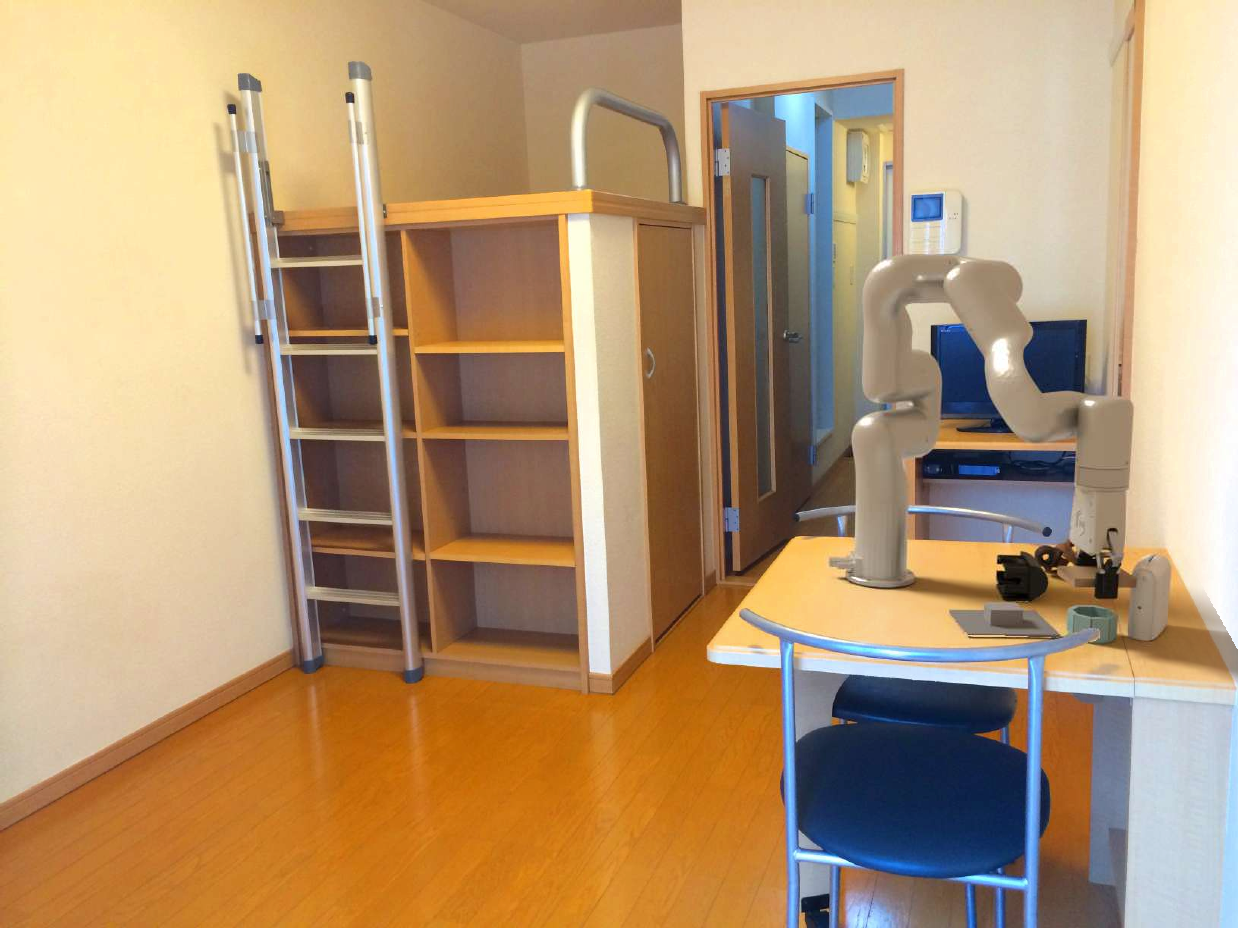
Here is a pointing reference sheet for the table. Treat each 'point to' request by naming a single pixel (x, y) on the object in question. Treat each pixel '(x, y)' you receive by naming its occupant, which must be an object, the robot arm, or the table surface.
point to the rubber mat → (984, 629)
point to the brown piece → (1056, 555)
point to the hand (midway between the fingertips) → (1095, 589)
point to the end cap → (1020, 578)
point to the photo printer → (1149, 597)
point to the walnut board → (1091, 577)
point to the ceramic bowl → (1093, 621)
